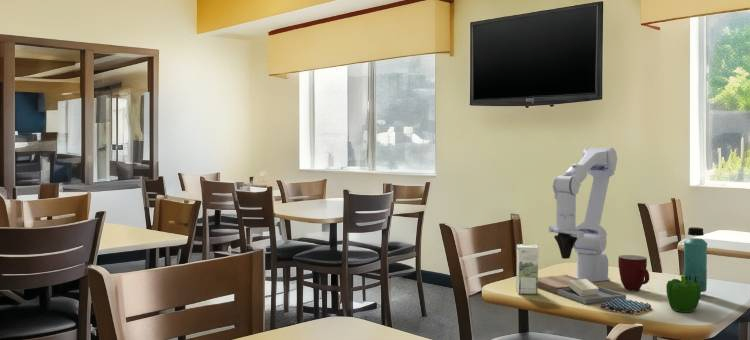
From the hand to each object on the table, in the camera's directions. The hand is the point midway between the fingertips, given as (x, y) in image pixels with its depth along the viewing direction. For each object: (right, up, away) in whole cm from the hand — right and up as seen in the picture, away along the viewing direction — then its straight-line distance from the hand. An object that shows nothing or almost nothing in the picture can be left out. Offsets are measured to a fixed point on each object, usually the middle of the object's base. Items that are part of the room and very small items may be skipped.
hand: (565, 258), depth 205 cm
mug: (+20, -10, -3) cm, 23 cm away
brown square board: (-1, -9, +2) cm, 9 cm away
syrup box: (-13, -10, -5) cm, 17 cm away
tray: (+4, -10, -11) cm, 16 cm away
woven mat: (+9, -11, -25) cm, 29 cm away
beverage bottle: (+35, -10, -9) cm, 38 cm away
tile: (+3, -9, -8) cm, 12 cm away
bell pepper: (+24, -11, -27) cm, 37 cm away
